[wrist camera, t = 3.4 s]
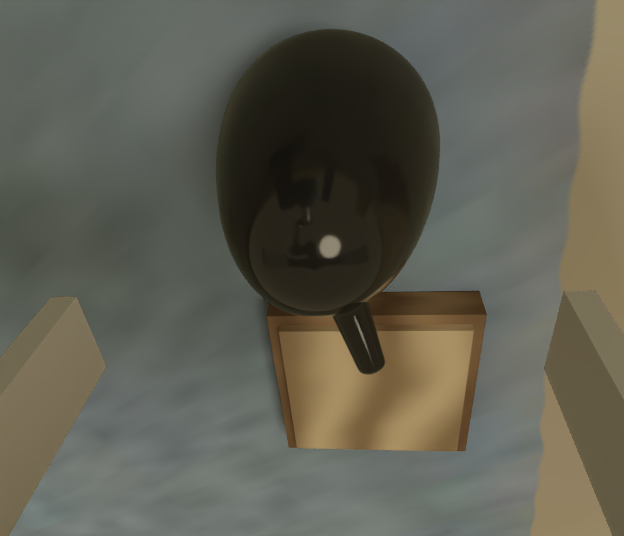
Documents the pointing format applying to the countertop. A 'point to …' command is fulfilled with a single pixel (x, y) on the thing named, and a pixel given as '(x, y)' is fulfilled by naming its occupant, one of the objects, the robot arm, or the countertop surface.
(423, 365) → the stand
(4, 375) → the robot arm
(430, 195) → the pump dispenser
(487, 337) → the countertop surface
